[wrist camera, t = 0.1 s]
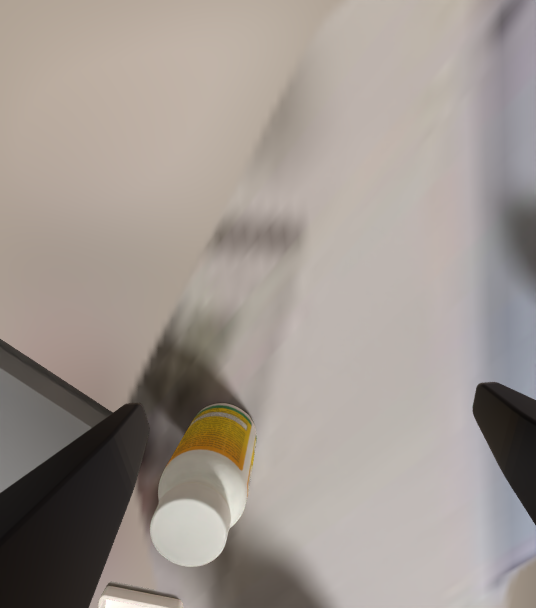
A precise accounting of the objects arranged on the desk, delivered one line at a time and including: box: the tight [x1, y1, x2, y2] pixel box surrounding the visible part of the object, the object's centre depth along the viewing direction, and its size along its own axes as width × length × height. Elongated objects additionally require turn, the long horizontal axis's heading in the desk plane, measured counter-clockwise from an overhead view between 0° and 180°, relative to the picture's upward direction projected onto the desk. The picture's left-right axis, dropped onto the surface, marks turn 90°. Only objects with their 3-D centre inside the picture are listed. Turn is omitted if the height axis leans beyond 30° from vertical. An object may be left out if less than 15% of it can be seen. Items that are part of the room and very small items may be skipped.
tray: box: [0, 339, 112, 493], centre depth 26 cm, size 18×14×2 cm
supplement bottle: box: [150, 403, 257, 567], centre depth 21 cm, size 5×5×10 cm
